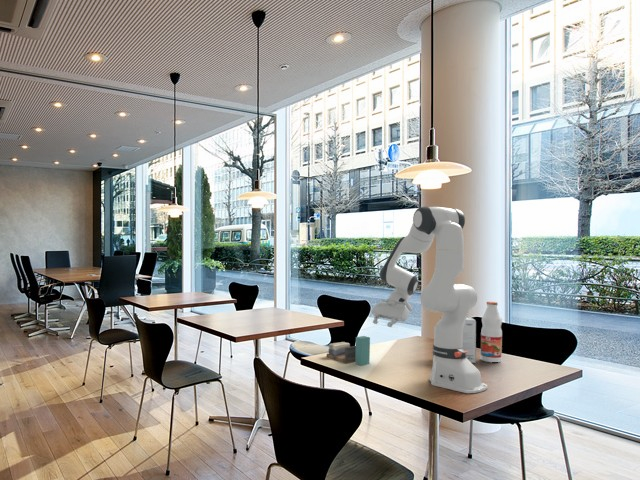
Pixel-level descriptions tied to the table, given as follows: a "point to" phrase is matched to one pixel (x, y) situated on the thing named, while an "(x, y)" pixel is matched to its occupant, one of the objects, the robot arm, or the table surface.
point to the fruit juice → (491, 334)
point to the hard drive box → (470, 339)
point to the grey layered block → (342, 352)
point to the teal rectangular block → (362, 350)
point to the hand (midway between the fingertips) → (381, 324)
